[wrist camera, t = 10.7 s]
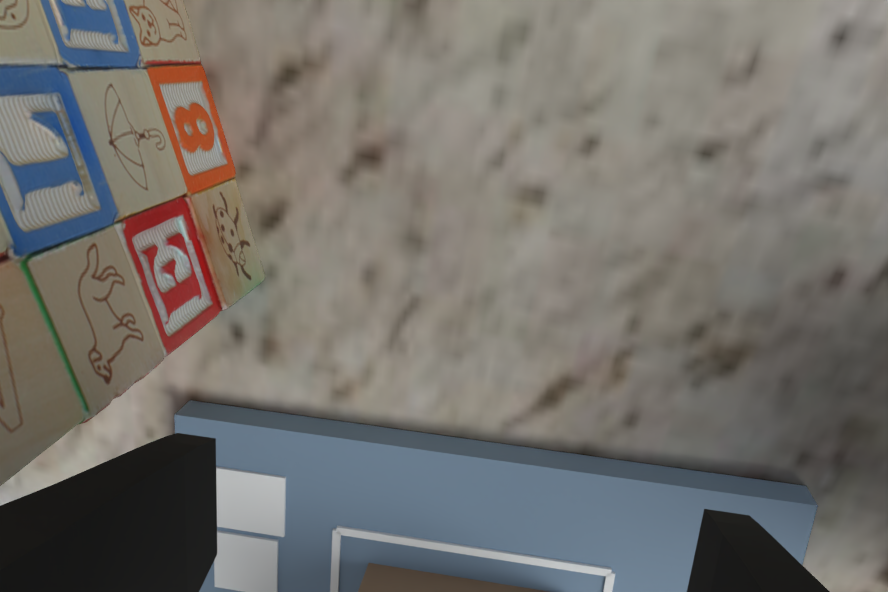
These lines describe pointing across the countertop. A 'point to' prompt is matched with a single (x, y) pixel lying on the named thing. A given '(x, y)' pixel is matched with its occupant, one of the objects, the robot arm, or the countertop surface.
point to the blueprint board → (456, 511)
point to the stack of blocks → (105, 209)
